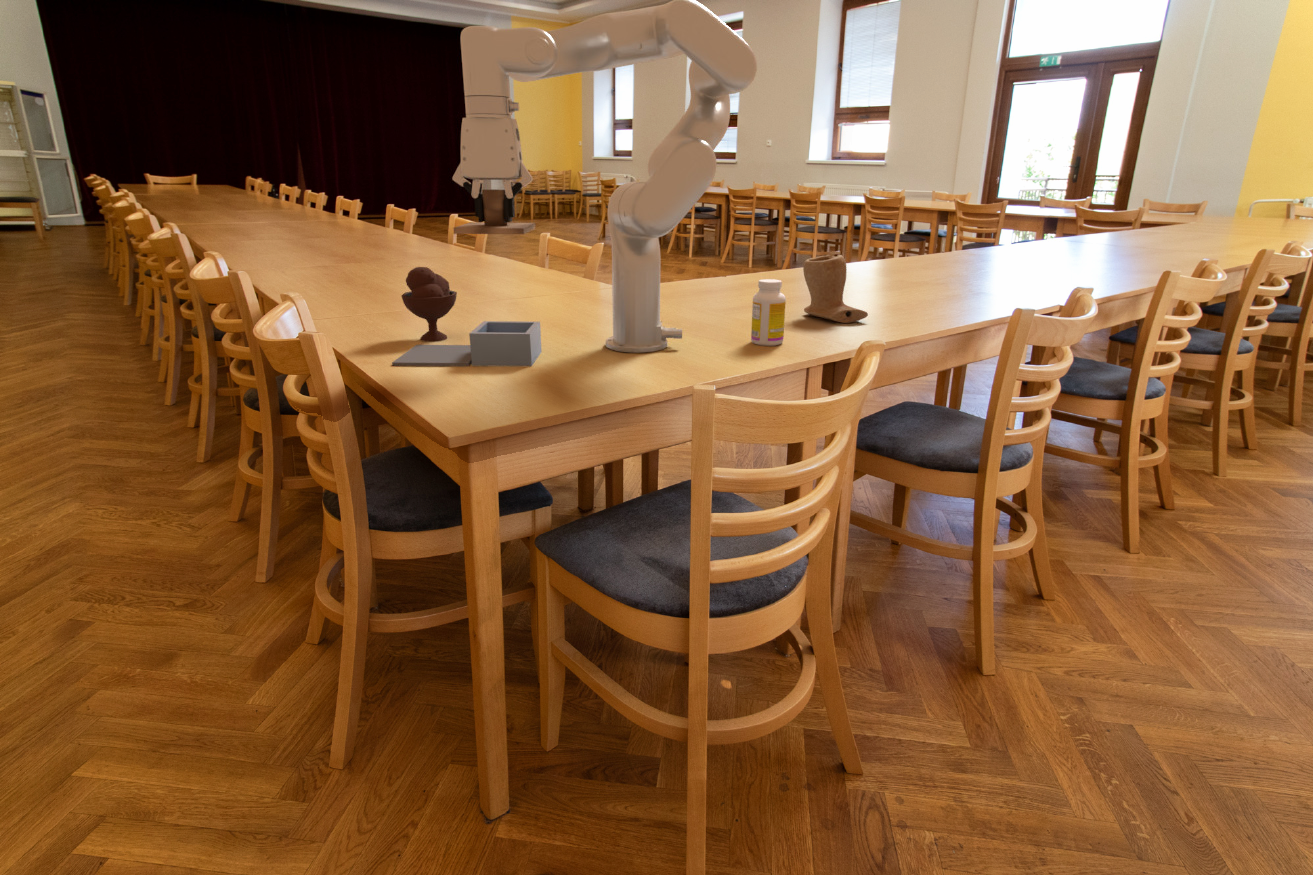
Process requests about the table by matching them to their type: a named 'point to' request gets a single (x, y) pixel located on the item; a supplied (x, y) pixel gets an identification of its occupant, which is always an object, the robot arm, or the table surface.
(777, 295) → the supplement bottle
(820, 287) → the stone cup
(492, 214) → the lid
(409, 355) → the mat
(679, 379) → the table surface
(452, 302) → the ice cream bowl
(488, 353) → the open box
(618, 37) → the robot arm
